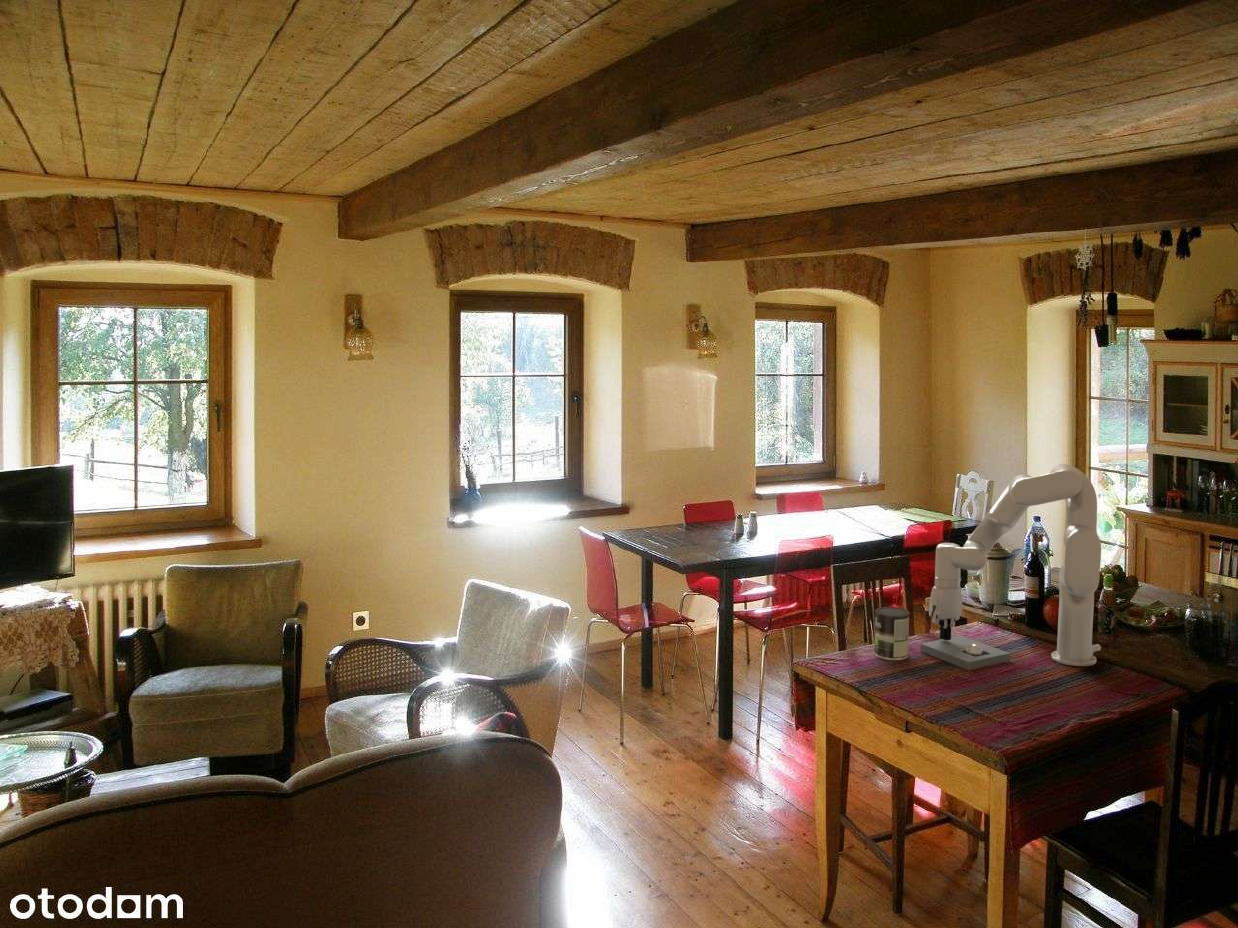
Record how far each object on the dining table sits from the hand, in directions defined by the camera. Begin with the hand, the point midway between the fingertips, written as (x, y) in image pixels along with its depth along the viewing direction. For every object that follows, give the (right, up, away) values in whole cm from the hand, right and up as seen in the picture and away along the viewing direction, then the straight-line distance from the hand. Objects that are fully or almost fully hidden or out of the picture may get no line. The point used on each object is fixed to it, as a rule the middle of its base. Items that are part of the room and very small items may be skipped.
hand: (945, 638), depth 318 cm
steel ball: (+5, -2, -11) cm, 12 cm away
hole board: (+4, -4, -7) cm, 9 cm away
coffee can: (-18, -4, -5) cm, 19 cm away
